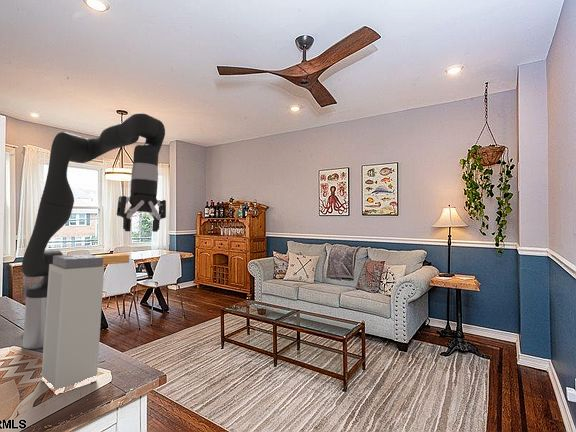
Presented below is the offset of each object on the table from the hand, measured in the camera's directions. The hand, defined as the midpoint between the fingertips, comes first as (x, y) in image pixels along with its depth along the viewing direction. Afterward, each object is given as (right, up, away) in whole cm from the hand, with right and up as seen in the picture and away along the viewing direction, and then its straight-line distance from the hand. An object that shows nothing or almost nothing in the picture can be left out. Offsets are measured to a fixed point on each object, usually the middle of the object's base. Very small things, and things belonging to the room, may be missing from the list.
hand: (141, 231), depth 97 cm
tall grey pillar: (-16, -41, -10) cm, 45 cm away
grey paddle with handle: (-11, -9, -5) cm, 15 cm away
